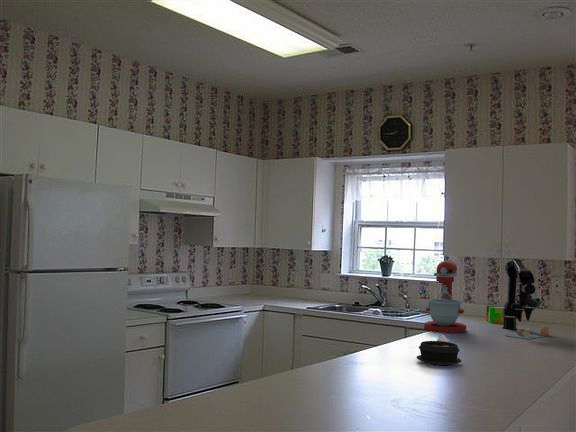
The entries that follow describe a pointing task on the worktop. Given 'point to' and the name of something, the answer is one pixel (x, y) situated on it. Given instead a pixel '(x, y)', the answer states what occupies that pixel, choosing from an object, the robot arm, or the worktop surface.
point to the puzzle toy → (494, 314)
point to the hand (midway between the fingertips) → (523, 321)
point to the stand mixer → (445, 303)
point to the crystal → (443, 339)
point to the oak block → (523, 332)
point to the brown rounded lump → (544, 331)
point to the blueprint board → (523, 336)
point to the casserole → (438, 353)
